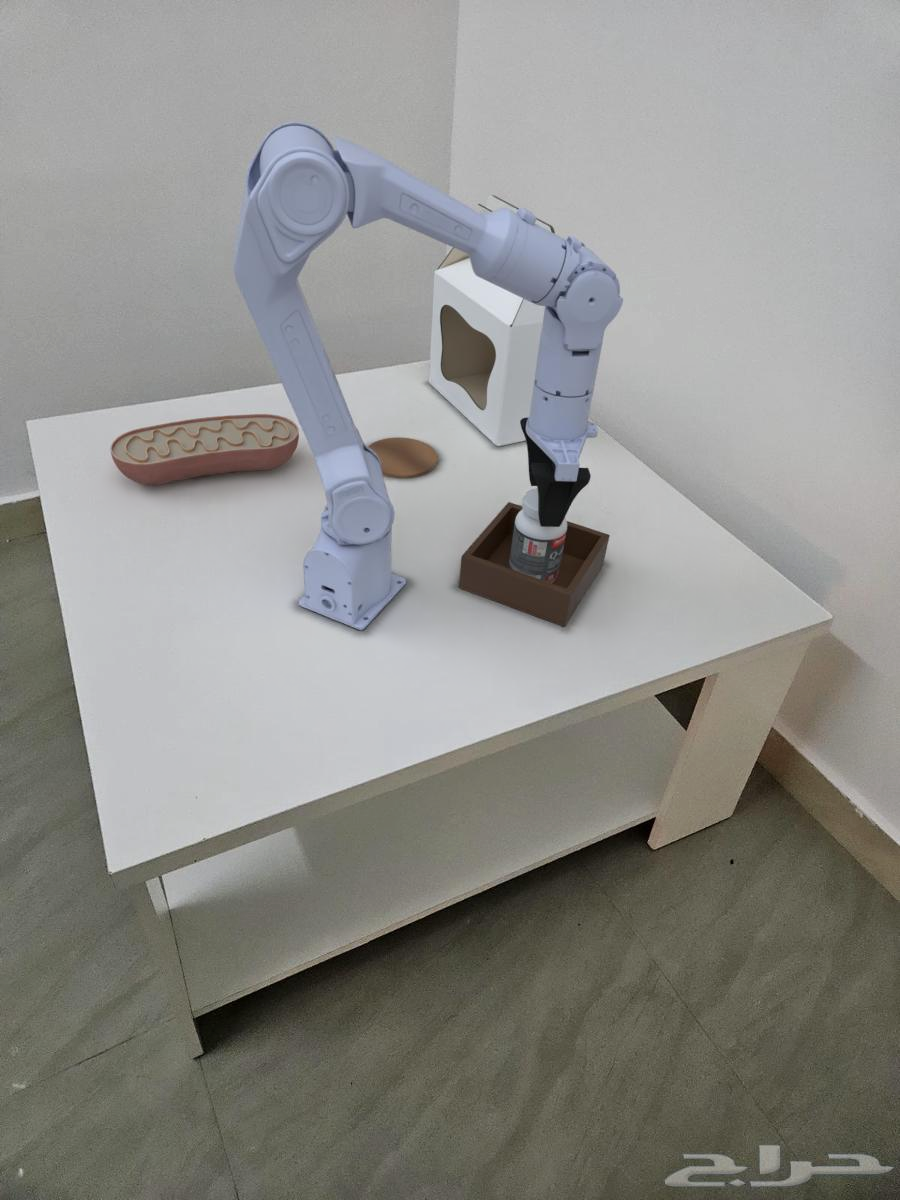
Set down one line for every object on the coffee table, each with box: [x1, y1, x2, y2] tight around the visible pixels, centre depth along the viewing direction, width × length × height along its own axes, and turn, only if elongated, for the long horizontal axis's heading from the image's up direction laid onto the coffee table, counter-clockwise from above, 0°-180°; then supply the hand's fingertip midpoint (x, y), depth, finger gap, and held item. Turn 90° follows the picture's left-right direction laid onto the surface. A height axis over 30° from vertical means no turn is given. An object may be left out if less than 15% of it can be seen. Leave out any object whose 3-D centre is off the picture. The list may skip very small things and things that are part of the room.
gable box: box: [428, 194, 556, 447], centre depth 116 cm, size 22×13×28 cm, turn 27°
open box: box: [458, 501, 611, 628], centre depth 91 cm, size 13×13×4 cm
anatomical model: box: [109, 413, 300, 486], centre depth 104 cm, size 23×10×5 cm, turn 112°
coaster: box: [367, 437, 438, 479], centre depth 111 cm, size 10×10×1 cm
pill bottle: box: [509, 488, 568, 584], centre depth 89 cm, size 6×6×10 cm
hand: (544, 504), depth 86 cm, fingers open, 7 cm apart
